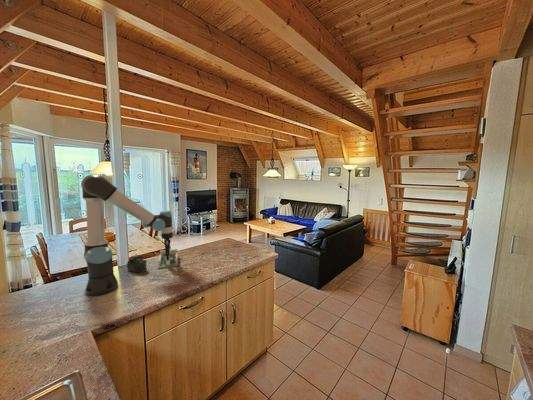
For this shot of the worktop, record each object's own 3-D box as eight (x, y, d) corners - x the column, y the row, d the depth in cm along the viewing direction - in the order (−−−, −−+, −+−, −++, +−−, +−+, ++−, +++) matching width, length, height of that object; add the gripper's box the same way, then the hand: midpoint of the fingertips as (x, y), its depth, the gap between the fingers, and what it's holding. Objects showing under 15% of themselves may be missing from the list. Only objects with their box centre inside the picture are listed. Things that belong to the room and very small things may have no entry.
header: (178, 266, 166) (177, 257, 166) (157, 268, 162) (157, 259, 161) (177, 256, 185) (177, 248, 184) (159, 258, 180) (159, 250, 179)
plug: (163, 264, 167) (163, 257, 166) (164, 261, 172) (164, 254, 172) (174, 263, 169) (173, 256, 168) (174, 260, 175) (174, 253, 174)
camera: (150, 267, 164) (150, 254, 163) (141, 273, 154) (140, 259, 153) (133, 266, 166) (132, 253, 164) (123, 272, 156) (122, 258, 155)
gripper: (172, 236, 158) (173, 266, 160) (172, 228, 181) (174, 254, 183) (160, 237, 155) (161, 268, 157) (162, 228, 178) (163, 255, 180)
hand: (168, 260), depth 170 cm, fingers open, 13 cm apart
